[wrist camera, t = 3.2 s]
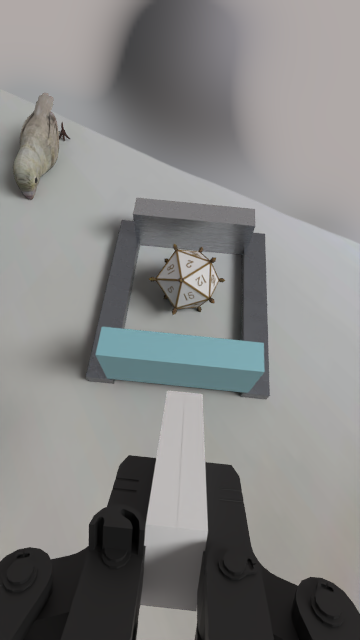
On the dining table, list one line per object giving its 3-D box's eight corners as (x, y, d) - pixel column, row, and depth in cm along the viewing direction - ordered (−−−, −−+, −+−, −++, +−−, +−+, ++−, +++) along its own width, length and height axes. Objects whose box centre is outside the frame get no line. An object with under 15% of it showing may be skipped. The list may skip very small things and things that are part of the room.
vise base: (88, 380, 40) (76, 363, 35) (123, 227, 51) (118, 195, 46) (266, 399, 40) (281, 384, 35) (262, 240, 51) (273, 210, 46)
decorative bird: (13, 199, 53) (-9, 157, 47) (43, 135, 61) (29, 91, 54) (47, 203, 53) (30, 161, 47) (73, 138, 61) (62, 94, 54)
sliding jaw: (107, 378, 39) (95, 354, 32) (112, 353, 40) (101, 326, 34) (248, 392, 38) (264, 371, 32) (248, 367, 40) (263, 342, 33)
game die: (172, 303, 50) (145, 241, 45) (229, 287, 48) (207, 219, 43) (167, 340, 42) (134, 269, 37) (234, 322, 40) (209, 245, 35)
